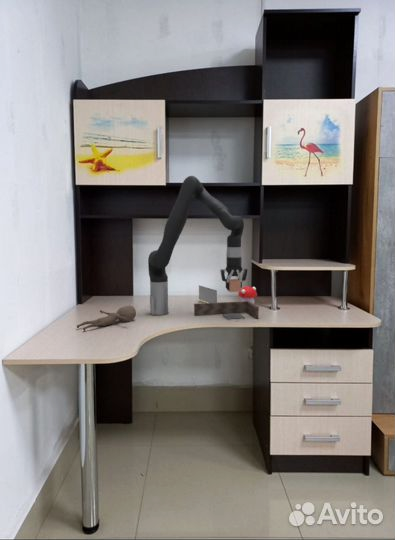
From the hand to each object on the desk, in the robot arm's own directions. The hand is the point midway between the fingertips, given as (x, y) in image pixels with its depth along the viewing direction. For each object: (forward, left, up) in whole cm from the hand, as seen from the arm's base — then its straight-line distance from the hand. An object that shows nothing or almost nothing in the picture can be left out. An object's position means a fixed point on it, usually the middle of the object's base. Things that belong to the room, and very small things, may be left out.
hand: (233, 289), depth 213 cm
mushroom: (+14, +20, -14) cm, 28 cm away
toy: (-62, -1, -15) cm, 64 cm away
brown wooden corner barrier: (-4, +1, -14) cm, 15 cm away
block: (0, 0, -1) cm, 1 cm away
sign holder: (-6, +32, -15) cm, 36 cm away
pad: (0, 0, -14) cm, 14 cm away
